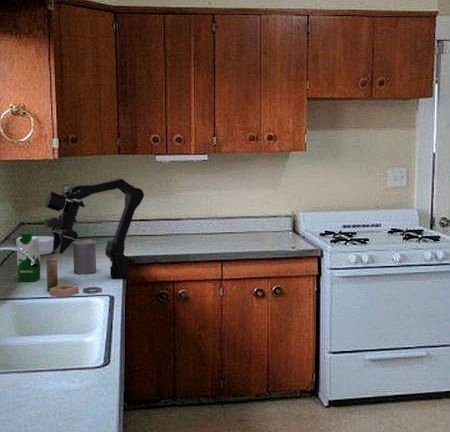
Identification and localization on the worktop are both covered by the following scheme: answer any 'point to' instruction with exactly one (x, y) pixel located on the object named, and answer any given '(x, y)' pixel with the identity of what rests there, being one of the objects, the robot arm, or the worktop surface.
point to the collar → (64, 290)
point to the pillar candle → (84, 257)
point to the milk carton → (23, 262)
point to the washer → (97, 289)
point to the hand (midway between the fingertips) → (57, 251)
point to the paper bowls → (46, 244)
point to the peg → (51, 272)
